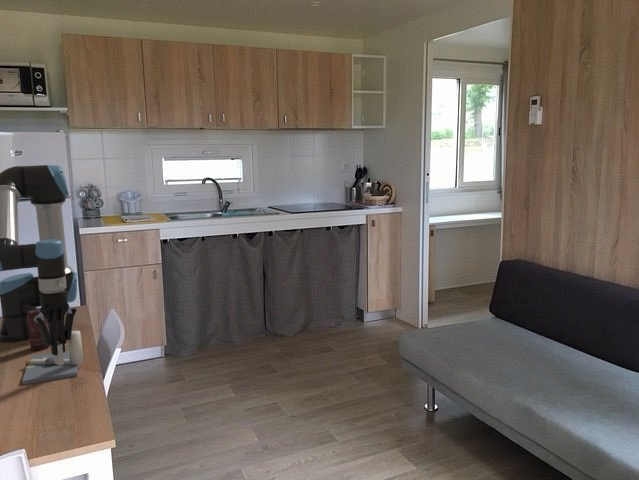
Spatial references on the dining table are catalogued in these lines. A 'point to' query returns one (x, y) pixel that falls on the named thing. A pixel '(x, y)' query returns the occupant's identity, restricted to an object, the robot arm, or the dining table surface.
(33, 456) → the dining table surface
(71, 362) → the needle
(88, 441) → the dining table surface
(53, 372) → the dial plate
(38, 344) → the can
